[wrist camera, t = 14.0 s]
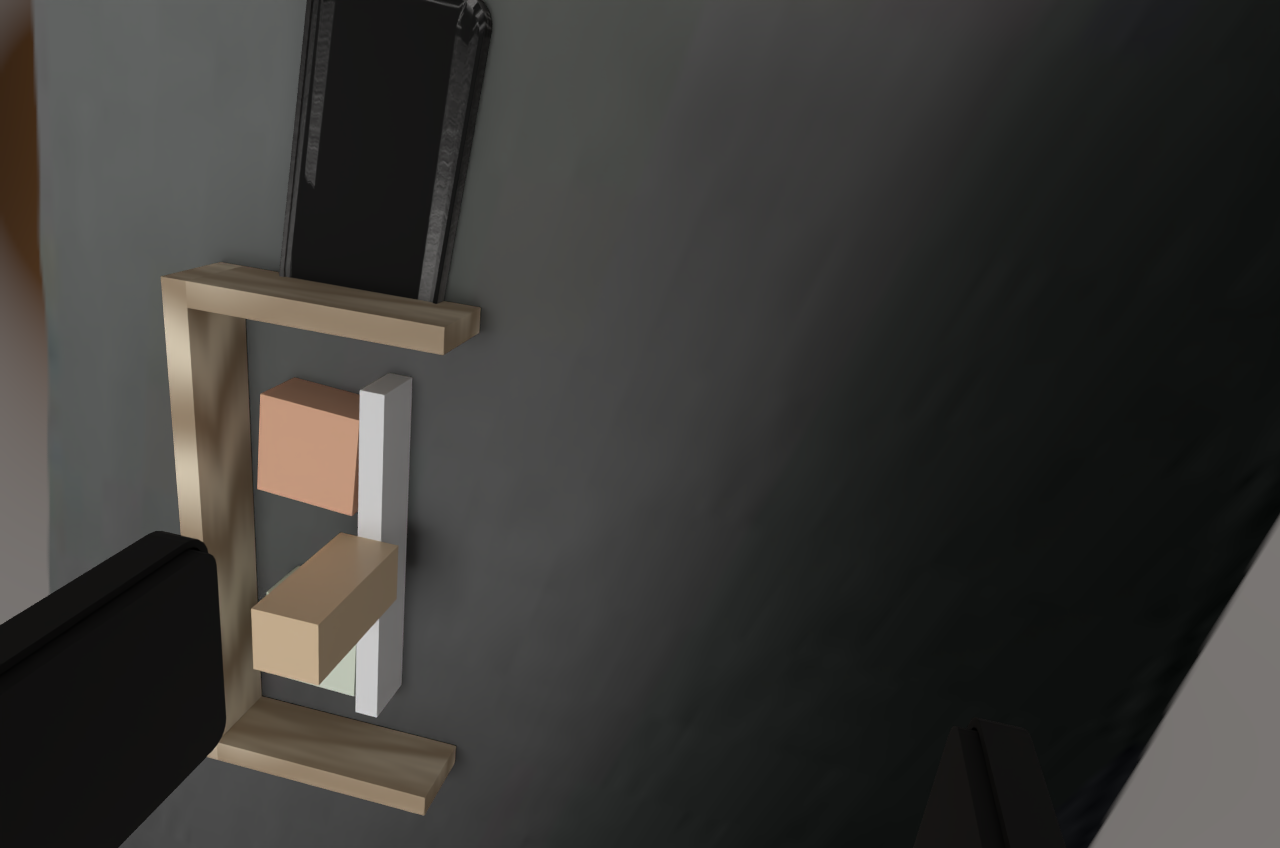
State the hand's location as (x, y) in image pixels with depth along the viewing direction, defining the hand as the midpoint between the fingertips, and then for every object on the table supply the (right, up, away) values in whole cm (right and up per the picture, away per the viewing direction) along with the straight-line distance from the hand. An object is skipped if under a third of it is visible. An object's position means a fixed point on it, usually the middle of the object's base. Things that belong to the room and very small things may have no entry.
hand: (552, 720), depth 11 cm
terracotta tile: (-14, +3, +33) cm, 36 cm away
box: (-14, -2, +35) cm, 37 cm away
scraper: (-12, -2, +34) cm, 36 cm away
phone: (-10, +15, +28) cm, 34 cm away
